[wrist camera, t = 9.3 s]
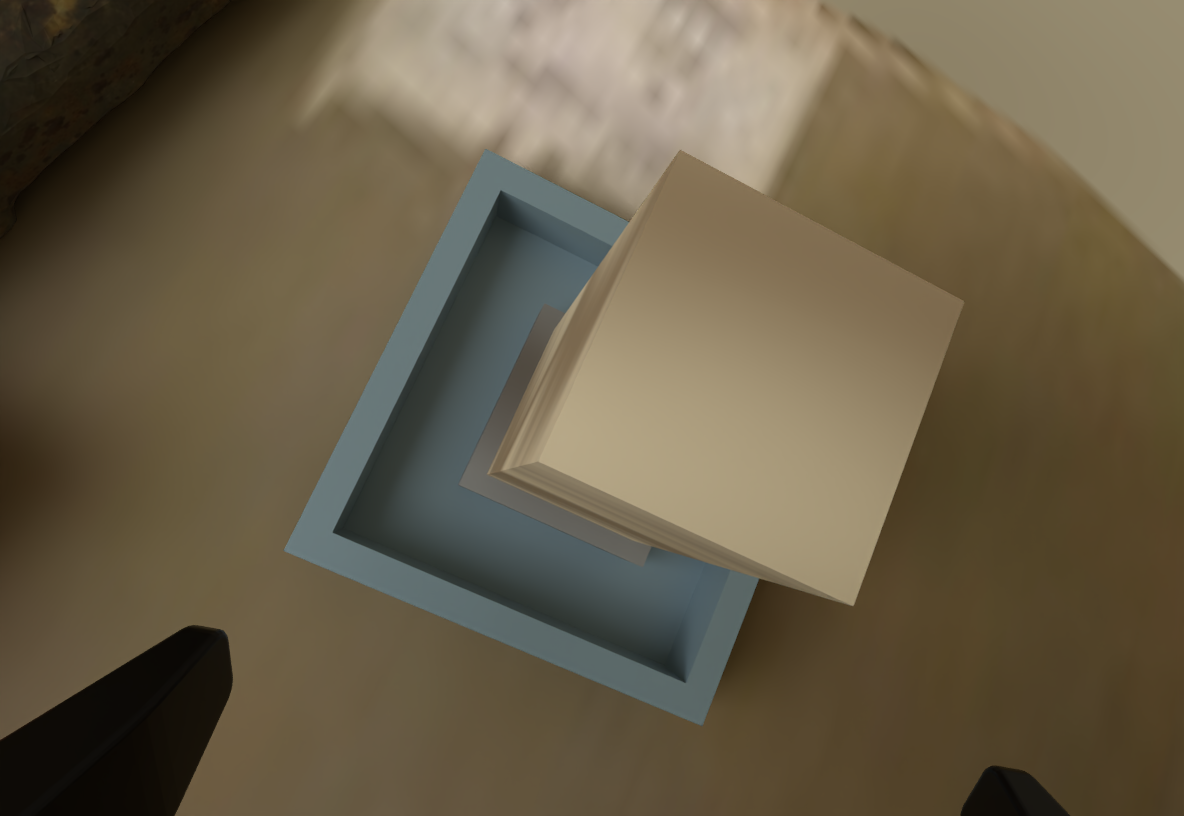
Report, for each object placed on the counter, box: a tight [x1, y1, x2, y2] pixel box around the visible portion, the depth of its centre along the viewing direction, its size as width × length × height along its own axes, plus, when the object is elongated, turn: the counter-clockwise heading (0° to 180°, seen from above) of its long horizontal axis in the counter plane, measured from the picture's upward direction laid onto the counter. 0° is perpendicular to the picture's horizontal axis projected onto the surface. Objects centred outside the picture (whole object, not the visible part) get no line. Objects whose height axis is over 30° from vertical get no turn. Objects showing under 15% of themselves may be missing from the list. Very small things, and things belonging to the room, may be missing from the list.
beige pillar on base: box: [458, 150, 965, 606], centre depth 15 cm, size 5×5×12 cm
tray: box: [284, 149, 759, 726], centre depth 20 cm, size 11×11×2 cm
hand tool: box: [0, 0, 230, 238], centre depth 18 cm, size 19×4×5 cm, turn 140°
